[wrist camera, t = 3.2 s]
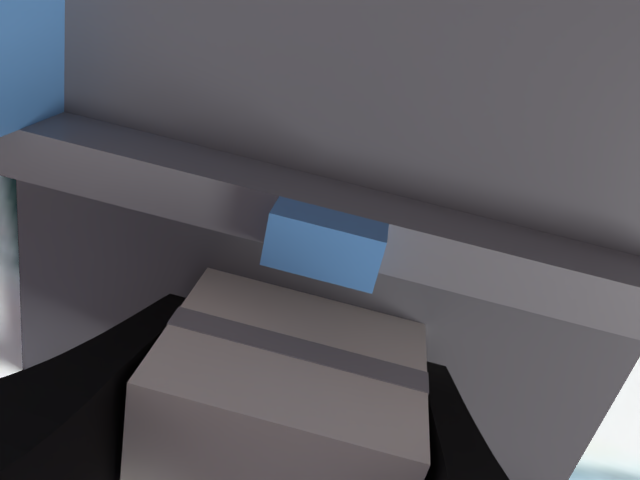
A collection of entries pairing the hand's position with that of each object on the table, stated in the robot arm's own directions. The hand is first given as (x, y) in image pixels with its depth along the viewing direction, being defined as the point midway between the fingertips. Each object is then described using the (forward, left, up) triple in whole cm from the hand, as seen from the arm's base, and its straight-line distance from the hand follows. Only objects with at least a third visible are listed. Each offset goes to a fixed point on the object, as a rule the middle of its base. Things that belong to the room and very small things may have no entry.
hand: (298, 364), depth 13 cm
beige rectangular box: (0, 0, -1) cm, 1 cm away
